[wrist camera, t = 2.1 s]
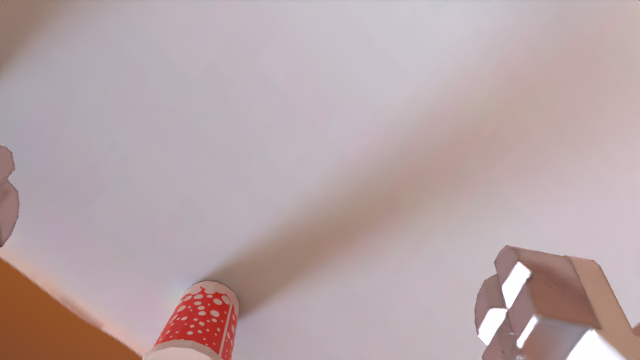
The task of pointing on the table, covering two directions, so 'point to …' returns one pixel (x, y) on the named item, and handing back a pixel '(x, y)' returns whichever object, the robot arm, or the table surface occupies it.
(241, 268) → the table surface
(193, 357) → the beverage cup
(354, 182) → the table surface
